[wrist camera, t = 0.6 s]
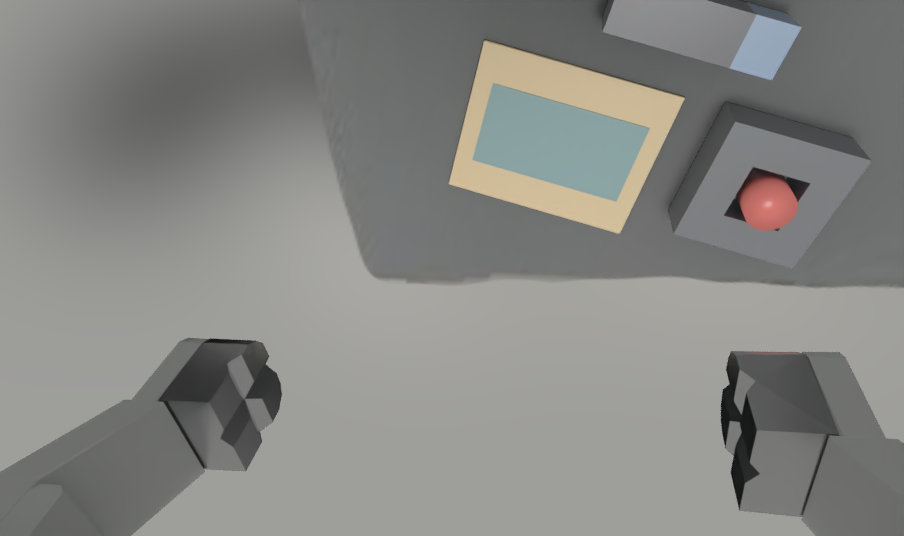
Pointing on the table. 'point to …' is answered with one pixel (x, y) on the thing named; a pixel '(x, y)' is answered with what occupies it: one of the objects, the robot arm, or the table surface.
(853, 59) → the table surface
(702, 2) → the block
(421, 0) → the table surface
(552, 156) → the drawing pad
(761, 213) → the button
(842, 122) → the table surface
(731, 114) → the button console
